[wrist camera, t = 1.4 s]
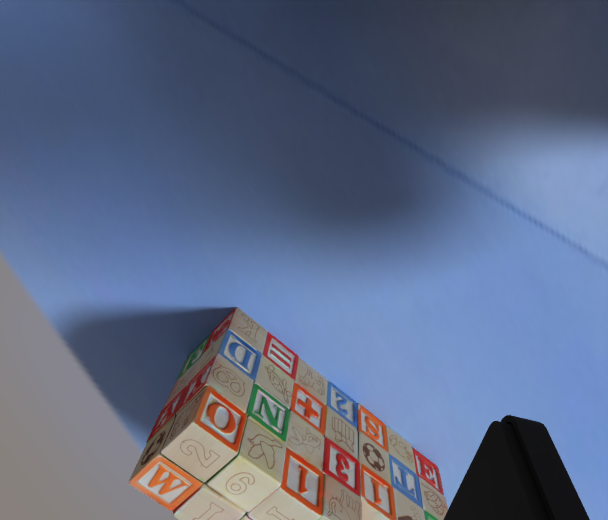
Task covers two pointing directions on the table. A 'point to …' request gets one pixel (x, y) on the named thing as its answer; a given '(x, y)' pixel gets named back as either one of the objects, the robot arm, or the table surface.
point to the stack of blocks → (276, 442)
